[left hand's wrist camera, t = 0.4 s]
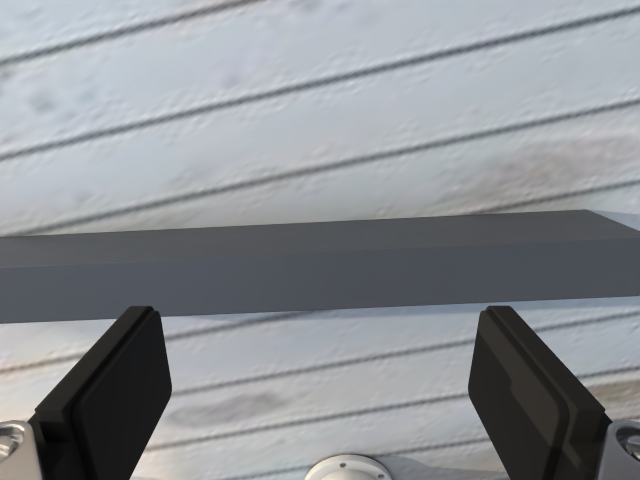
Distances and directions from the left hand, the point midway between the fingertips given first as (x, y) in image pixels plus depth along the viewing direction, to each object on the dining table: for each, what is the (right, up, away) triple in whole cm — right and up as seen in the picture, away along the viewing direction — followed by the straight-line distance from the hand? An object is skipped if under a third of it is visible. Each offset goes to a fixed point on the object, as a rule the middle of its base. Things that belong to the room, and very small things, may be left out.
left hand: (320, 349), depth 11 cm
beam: (-13, +2, +31) cm, 33 cm away
